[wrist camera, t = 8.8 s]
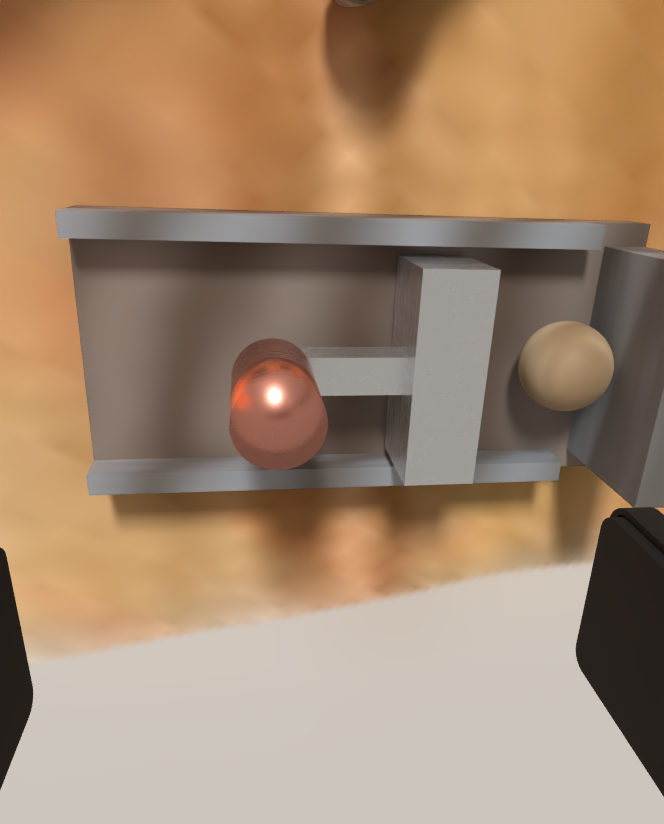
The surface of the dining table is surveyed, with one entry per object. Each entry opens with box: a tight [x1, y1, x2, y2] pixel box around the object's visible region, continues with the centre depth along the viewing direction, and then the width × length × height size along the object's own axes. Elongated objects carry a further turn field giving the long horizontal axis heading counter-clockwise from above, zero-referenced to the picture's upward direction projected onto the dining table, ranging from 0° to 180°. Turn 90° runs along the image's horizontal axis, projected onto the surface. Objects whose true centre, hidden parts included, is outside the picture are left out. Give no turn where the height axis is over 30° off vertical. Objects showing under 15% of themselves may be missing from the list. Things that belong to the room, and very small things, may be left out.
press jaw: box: [229, 254, 501, 486], centre depth 24 cm, size 10×9×8 cm
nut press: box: [55, 206, 664, 508], centre depth 26 cm, size 25×12×8 cm, turn 88°
